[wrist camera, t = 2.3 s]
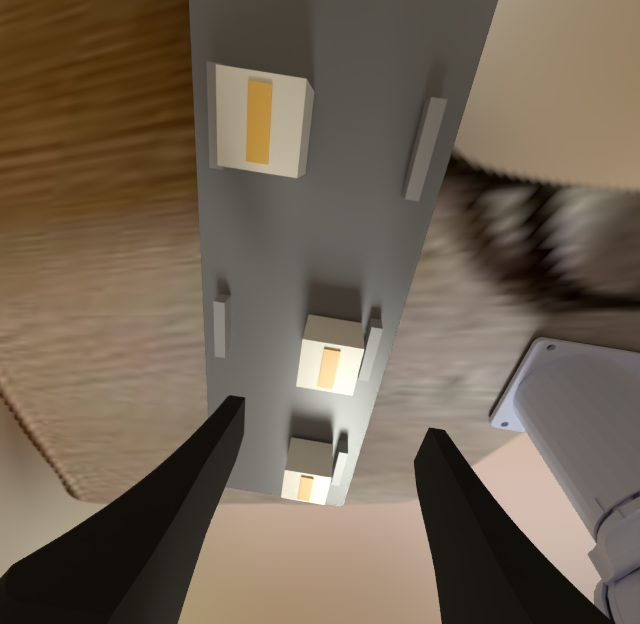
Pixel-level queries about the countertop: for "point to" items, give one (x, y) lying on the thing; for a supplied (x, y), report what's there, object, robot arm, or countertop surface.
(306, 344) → the switch mid
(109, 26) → the countertop surface
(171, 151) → the countertop surface
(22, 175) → the countertop surface
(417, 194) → the power strip
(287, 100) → the switch
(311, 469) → the switch
